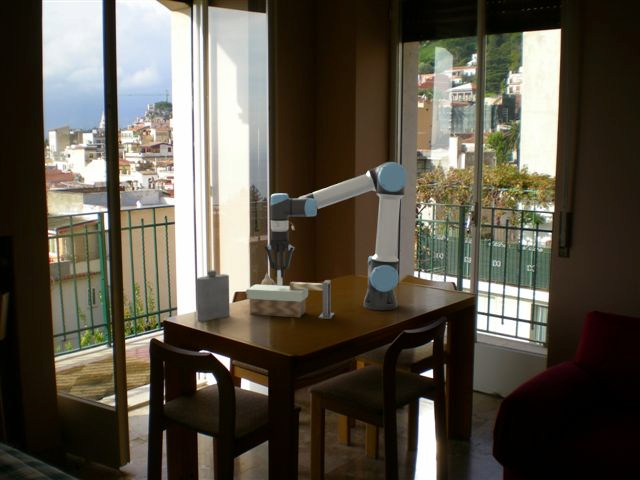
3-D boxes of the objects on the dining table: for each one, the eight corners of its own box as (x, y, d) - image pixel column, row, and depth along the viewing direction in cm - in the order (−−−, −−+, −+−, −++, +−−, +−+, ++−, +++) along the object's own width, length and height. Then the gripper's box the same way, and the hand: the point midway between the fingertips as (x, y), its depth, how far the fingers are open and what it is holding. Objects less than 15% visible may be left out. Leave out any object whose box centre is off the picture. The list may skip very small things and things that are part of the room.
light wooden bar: (326, 289, 291) (326, 283, 291) (324, 290, 288) (324, 284, 287) (291, 287, 294) (291, 281, 294) (289, 289, 291) (289, 283, 291)
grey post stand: (334, 314, 294) (334, 279, 292) (330, 318, 286) (330, 283, 284) (323, 313, 295) (323, 279, 293) (318, 318, 287) (318, 282, 285)
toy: (275, 306, 308) (275, 273, 306) (243, 305, 311) (243, 272, 308) (279, 303, 314) (279, 271, 312) (247, 302, 317) (247, 270, 314)
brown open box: (305, 312, 298) (305, 296, 297) (299, 317, 289) (299, 301, 288) (256, 309, 303) (256, 293, 302) (250, 314, 294) (249, 298, 293)
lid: (308, 296, 297) (308, 287, 297) (301, 301, 287) (301, 292, 286) (255, 293, 303) (255, 284, 302) (246, 298, 292) (246, 289, 292)
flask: (223, 313, 295) (223, 267, 292) (231, 316, 291) (231, 269, 288) (194, 319, 285) (192, 272, 282) (201, 322, 281) (200, 274, 278)
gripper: (262, 230, 289) (262, 285, 292) (292, 231, 285) (292, 287, 289) (267, 228, 296) (268, 282, 299) (296, 229, 293) (296, 284, 296)
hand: (279, 284), depth 294 cm, fingers closed
